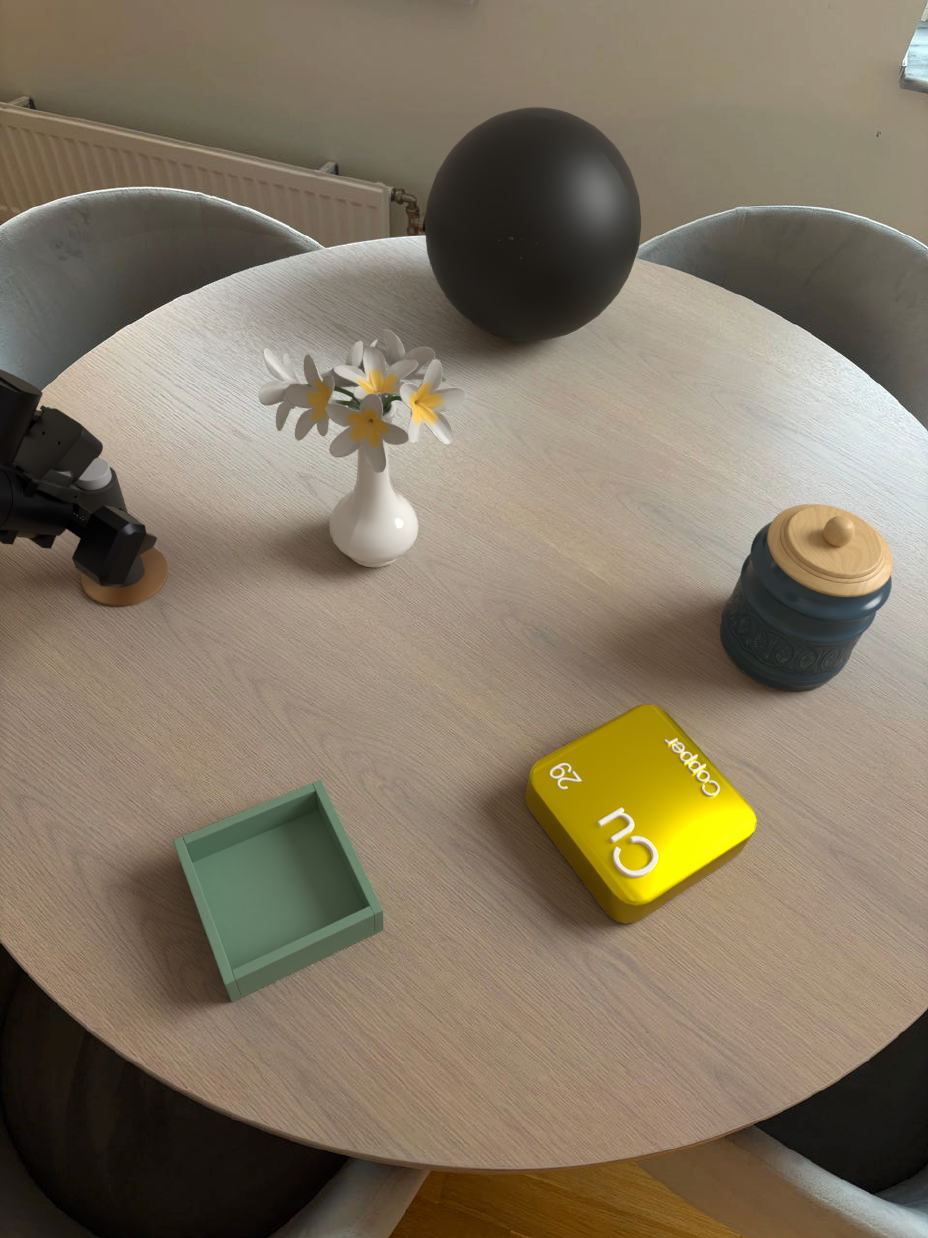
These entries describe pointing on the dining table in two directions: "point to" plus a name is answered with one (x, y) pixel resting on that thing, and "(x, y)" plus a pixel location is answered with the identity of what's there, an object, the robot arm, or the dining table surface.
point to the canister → (806, 596)
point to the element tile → (638, 811)
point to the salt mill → (105, 501)
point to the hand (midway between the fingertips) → (121, 519)
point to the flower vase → (368, 434)
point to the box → (278, 888)
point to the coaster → (134, 593)
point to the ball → (533, 224)
